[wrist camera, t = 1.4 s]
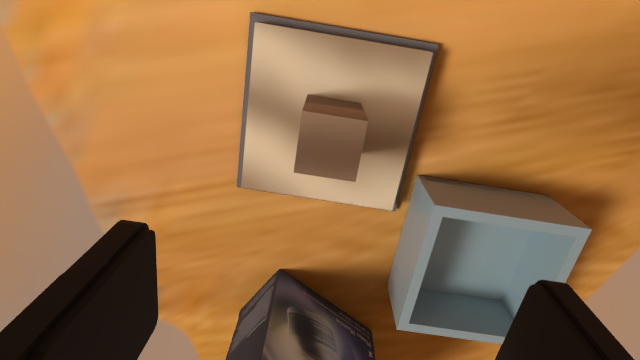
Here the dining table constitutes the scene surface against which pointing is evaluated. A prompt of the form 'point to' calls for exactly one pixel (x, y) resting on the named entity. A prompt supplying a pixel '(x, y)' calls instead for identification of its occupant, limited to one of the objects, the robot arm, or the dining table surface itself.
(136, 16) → the dining table surface
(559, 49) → the dining table surface
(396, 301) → the open box
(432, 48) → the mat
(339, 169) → the lid
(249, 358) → the small box
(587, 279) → the dining table surface
